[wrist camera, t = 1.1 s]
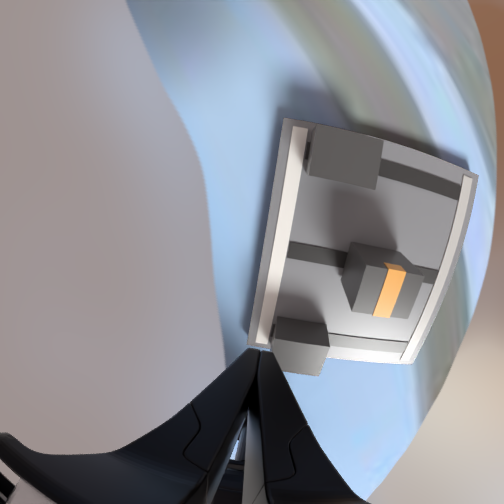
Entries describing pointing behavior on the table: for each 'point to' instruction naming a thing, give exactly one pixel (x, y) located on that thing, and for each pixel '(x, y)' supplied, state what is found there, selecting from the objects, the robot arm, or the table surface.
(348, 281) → the block
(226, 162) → the table surface
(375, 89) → the table surface
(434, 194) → the panel
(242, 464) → the robot arm
